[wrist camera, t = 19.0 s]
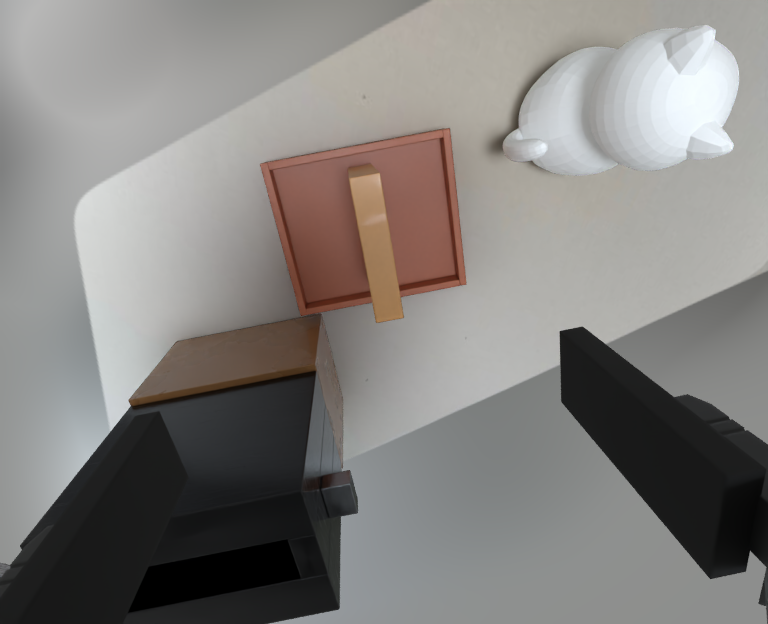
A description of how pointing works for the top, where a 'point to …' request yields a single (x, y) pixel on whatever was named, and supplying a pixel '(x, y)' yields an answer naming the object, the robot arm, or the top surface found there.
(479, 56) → the top surface
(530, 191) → the top surface
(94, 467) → the toaster
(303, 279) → the tray
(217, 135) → the top surface
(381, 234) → the toast
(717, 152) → the cat figurine
